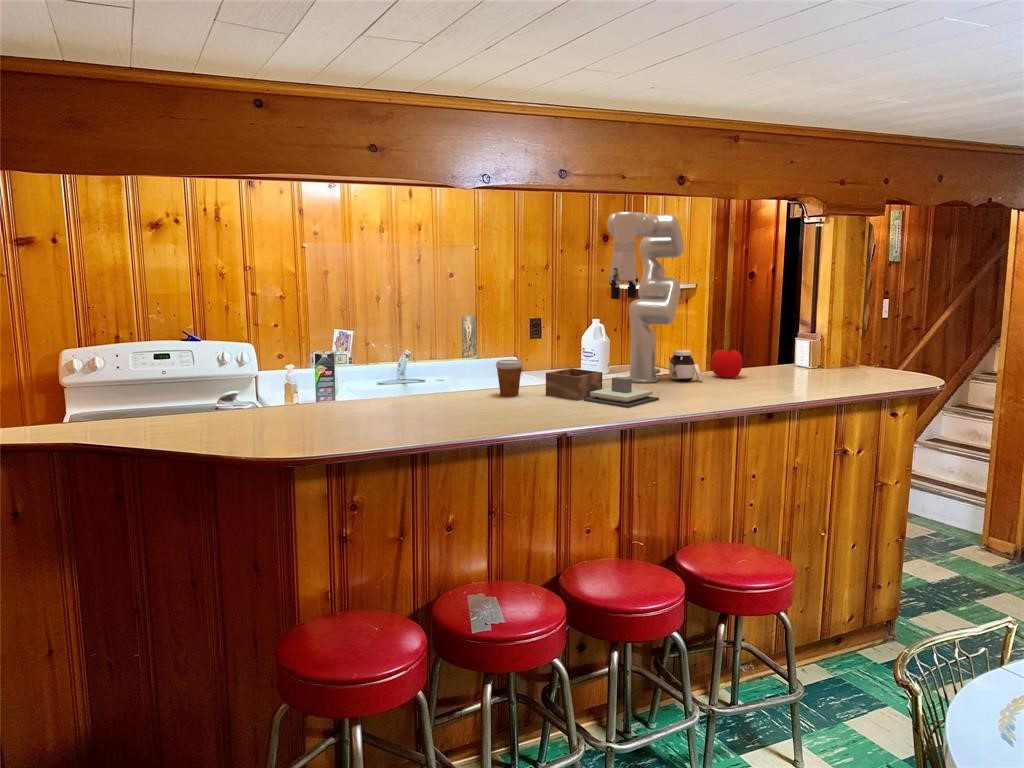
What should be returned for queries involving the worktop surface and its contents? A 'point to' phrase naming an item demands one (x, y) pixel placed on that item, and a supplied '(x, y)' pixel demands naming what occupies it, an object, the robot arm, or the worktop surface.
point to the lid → (621, 391)
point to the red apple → (726, 363)
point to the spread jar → (683, 367)
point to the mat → (622, 404)
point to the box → (573, 383)
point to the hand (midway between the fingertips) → (623, 298)
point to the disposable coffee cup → (509, 377)
